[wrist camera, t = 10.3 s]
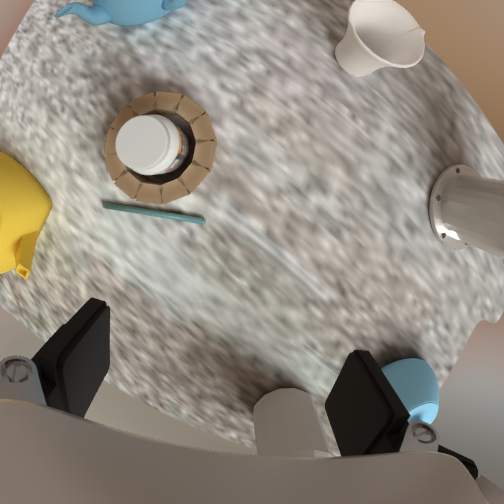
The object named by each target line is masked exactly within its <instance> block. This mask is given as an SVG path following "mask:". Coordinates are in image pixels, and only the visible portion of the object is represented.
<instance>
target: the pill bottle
mask: <svg viewBox="0 0 504 504" xmlns="http://www.w3.org/2000/svg"><path fill="white" fill-rule="evenodd" d="M115 146H116V152H117V155H118V157H119V159H120V160H121V162H122V163H123V164H124V165H126V166H127V167H129V168H131V169H132V170H133V171H135V172H137V173H139V174H143V175H157V174H166V173H170V172H173V171H175V170H177V169H178V168H179V167H181V166H182V165H183V163H184V162H185V160H186V159H187V156H188V153H189V141H188V138H187V136H186V134H185V133H184V132H183V131H182V130H181V129H180V128H179V127H178V126H177V125H175V124H174V123H173V122H172V121H171V120H169V119H168V118H166V117H163V116H160V115H140V116H136V117H134V118H131V119H130V120H128V121H127V122H126V123H125V124H124V125H123V126H122V127H121V129H120V130H119V132H118V134H117V137H116V144H115Z"/></svg>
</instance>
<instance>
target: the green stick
mask: <svg viewBox="0 0 504 504" xmlns="http://www.w3.org/2000/svg"><path fill="white" fill-rule="evenodd" d="M103 207H104V208H106V209H112V210H119V211H125V212H131V213H138V214H144V215H150V216H156V217H162V218H168V219H174V220H180V221H186V222H192V223H198V224H205V222H206V220H205V219H204V218H199V217H194V216H188V215H182V214H176V213H170V212H163V211H157V210H151V209H145V208H138V207H132V206H125V205H119V204H112V203H104V204H103Z"/></svg>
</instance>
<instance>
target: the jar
mask: <svg viewBox="0 0 504 504" xmlns="http://www.w3.org/2000/svg"><path fill="white" fill-rule="evenodd" d="M253 420H254V429H255V437H256V445H257V453H258V455H266V456H284V457H334V456H333V453H332V451H331V448H330V445H329V442H328V439H327V436H326V434H325V431H324V428H323V425H322V422H321V420H320V417H319V414H318V411H317V408H316V406H315V403H314V401H313V400H312V398H311V396H310V395H309V393H306V392H304V391H301V390H299V389H296V388H278V389H276V390H274V391H272V392H269V393H267V394H265V395H264V396H263V397H262V398H261V399H260V400H259V401H258V402H257V403H256V404H255V406H254V412H253Z"/></svg>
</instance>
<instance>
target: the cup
mask: <svg viewBox="0 0 504 504" xmlns="http://www.w3.org/2000/svg"><path fill="white" fill-rule="evenodd" d="M347 17H348V28H347V31H346V34H345V36H344V38H343V39H342V40H341V41H340V42H339V43H338V44H337V46H336V48H335V56H336V59H337V62H338V64H339V65H340V66H341V68H342V69H344V70H345V71H346V72H347V73H349V74H351V75H353V76H357V77H364V76H368V75H369V74H371V73H372V72H373V71H375V70H377V69H380V68H383V67H389V66H392V67H399V68H409V67H412V66H415V65H416V64H417V63H418V62H419V61H420V60H421V58H422V57H423V54H424V50H425V44H424V34H425V30H424V29H422V28H420V26H419V25H418V23H417V22H416V20H415V19H414V18H413V17H412V16H411V14H410V13H409V12H408V11H407V10H406V9H404V8H403V7H402V6H401V5H399V4H398V3H397V2H395V1H393V0H355V1H353V2H352V4H351V5H350V7H349V9H348V14H347Z"/></svg>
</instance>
